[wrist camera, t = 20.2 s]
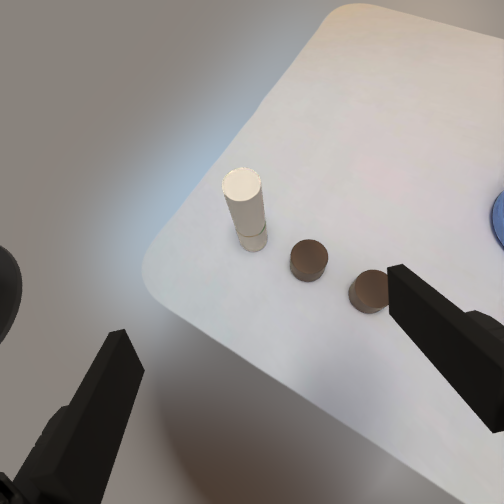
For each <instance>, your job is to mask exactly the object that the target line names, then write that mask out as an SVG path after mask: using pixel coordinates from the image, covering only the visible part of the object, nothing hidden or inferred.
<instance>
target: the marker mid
mask: <svg viewBox="0 0 504 504" xmlns="http://www.w3.org/2000/svg"><path fill="white" fill-rule="evenodd" d="M327 262H328V253H327V250H326V248H325V247H324V246H323V245H322V244H321V243H319V242H318V241H315V240H310V239H308V240H302V241H300V242H298V243H297V244H296V245H295V246H294V247H293V249H292V251H291V259H290V269H291V272H292V273H293V275H294V276H295V277H296V278H297V279H299V280H301V281H305V282H311V281H315V280H317V279H318V278H319V277H320V276H321V275H322V274H323V272H324V269H325V267H326V265H327Z"/></svg>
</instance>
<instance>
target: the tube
mask: <svg viewBox="0 0 504 504" xmlns="http://www.w3.org/2000/svg"><path fill="white" fill-rule="evenodd" d="M222 189H223V192H224V195H225V198H226V201H227V204H228V207H229V210H230V213H231V216H232V219H233V222H234V225H235V228H236V231H237V234H238V237H239V240H240V243H241V246H242V247H243V248H244V249H245V250H247V251H250V252H256V251H259V250H261V249H263V248H264V247H265V245H266V243H267V230H266V221H265V213H264V204H263V195H262V187H261V180H260V177H259V175H258V174H257V173H256V172H255V171H253V170H251V169H249V168H237V169H234V170H232V171H230V172H229V173H228V174H227V175H226V176H225V178H224V179H223V182H222Z"/></svg>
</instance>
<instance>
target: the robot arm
mask: <svg viewBox="0 0 504 504" xmlns="http://www.w3.org/2000/svg"><path fill="white" fill-rule="evenodd" d="M387 276H388V299H389V314H390V315H391V316H392V318H393V319H394V320H395V321H396V322H397V323H398V325H399V326H400V327H401V328H402V329H403V330H404V331H405V333H406V334H407V335H408V336H409V337H410V338H411V340H412V341H413V342H414V343H415V344H416V345H417V346H418V348H419V349H420V350H421V351H422V352H423V353H424V355H425V356H426V357H427V358H428V359H429V360H430V361H431V363H432V364H433V365H434V366H435V367H436V368H437V370H438V371H439V372H440V373H441V374H442V375H443V376H444V378H445V379H446V380H447V381H448V382H449V383H450V385H451V386H452V387H453V388H454V389H455V390H456V391H457V393H458V394H459V395H460V396H461V397H462V398H463V400H464V401H465V402H466V403H467V404H468V405H469V406H470V408H471V409H472V410H473V411H474V412H475V413H476V415H477V416H478V417H479V418H480V419H481V420H482V421H483V423H484V424H485V425H486V426H487V427H488V428H489V430H490V431H491V432H492V433H497V432H501V431H504V326H503V325H502V324H501V323H499V322H498V321H497V320H495V319H494V318H492V317H491V316H488V315H486V314H483V313H481V312H479V311H476V310H474V311H470V312H466V313H465V312H463V311H462V310H461V309H459V308H458V307H457V306H456V305H454V304H453V303H452V302H451V301H449V300H448V299H447V298H445V297H444V296H443V295H442V294H440V293H439V292H438V291H437V290H435V289H434V288H433V287H431V286H430V285H429V284H428V283H426V282H425V281H424V280H422V279H421V278H420V277H419V276H417V275H416V274H415V273H414V272H412V271H411V270H410V269H408V268H407V267H406V266H405V265H403V264H400V265H396V266H392V267H387ZM144 371H145V370H144V368H143V366H142V364H141V362H140V360H139V358H138V356H137V353H136V351H135V349H134V347H133V345H132V343H131V341H130V339H129V337H128V335H127V333H126V331H125V329H122V330H118V331H113V332H110V333H109V334H108V336H107V338H106V340H105V341H104V343H103V345H102V347H101V349H100V350H99V352H98V354H97V356H96V357H95V359H94V361H93V363H92V365H91V367H90V368H89V370H88V372H87V374H86V375H85V377H84V379H83V381H82V382H81V384H80V386H79V388H78V390H77V391H76V393H75V395H74V397H73V398H72V400H71V402H70V404H69V405H68V406H63V407H61V408H60V409H59V410H58V411H57V412H56V413H55V414H54V416H53V417H52V418H51V419H50V420H49V422H48V423H47V425H46V427H45V428H44V430H43V432H42V435H41V436H40V437H39V438H38V440H37V442H36V443H35V447H33V448H32V450H31V452H30V453H29V455H28V457H27V458H26V460H25V462H24V463H23V465H22V467H21V469H20V470H19V472H18V474H17V475H16V477H15V478H14V480H13V482H12V481H11V480H10V479H9V478H8V477H7V476H6V475H5V474H4V473H3V472H0V504H101V501H102V498H103V495H104V492H105V489H106V486H107V483H108V480H109V477H110V474H111V471H112V468H113V465H114V462H115V459H116V456H117V453H118V450H119V447H120V444H121V441H122V438H123V434H124V432H125V428H126V426H127V422H128V419H129V416H130V413H131V410H132V407H133V404H134V401H135V398H136V395H137V392H138V389H139V386H140V383H141V380H142V377H143V374H144Z"/></svg>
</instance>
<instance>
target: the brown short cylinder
mask: <svg viewBox="0 0 504 504" xmlns="http://www.w3.org/2000/svg"><path fill="white" fill-rule="evenodd" d="M349 299H350V302H351V303H352V305H353V306H354V307H355V308H356V309H357V310H359V311H361V312H363V313H375V312H378V311H379V310H381V309H383V308H384V307H386V306H387V305H389V299H388V276H387V274H385V273H384V272H381V271H378V270H367V271H365V272H363V273H361V274H360V275H359V276H358V277H357V279H356V280H355V281H354V282H353V284H352V285H351V286H350V289H349Z"/></svg>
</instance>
